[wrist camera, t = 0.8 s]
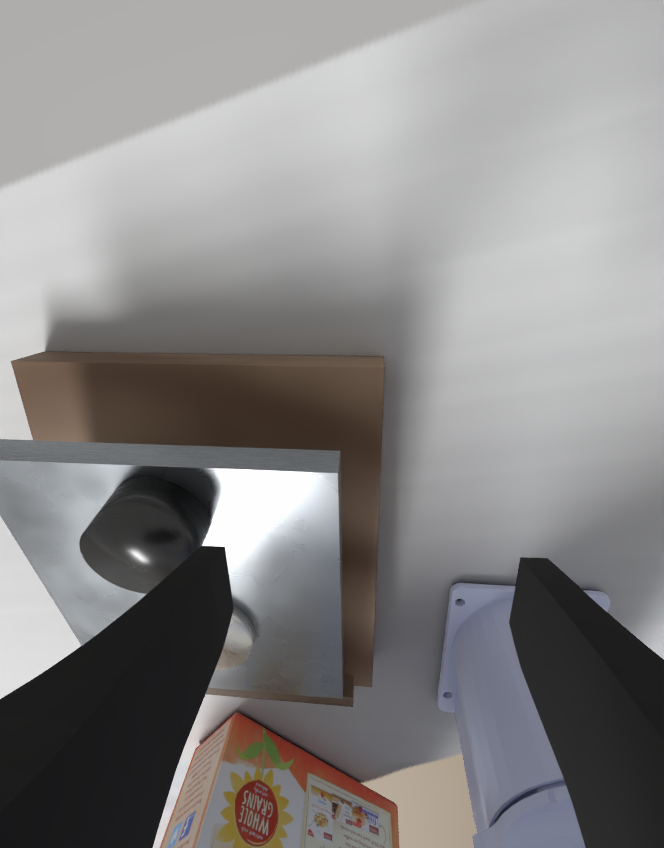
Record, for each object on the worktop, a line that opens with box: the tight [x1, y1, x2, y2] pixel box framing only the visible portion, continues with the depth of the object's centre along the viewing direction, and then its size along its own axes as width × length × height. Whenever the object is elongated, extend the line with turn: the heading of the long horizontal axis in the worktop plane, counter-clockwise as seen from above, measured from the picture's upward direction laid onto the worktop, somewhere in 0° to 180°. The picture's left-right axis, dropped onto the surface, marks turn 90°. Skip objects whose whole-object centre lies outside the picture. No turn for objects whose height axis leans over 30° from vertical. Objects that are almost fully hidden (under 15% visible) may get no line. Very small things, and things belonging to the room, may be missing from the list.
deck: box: [0, 439, 344, 699], centre depth 18 cm, size 15×13×3 cm
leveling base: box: [11, 352, 385, 707], centre depth 21 cm, size 18×16×3 cm
